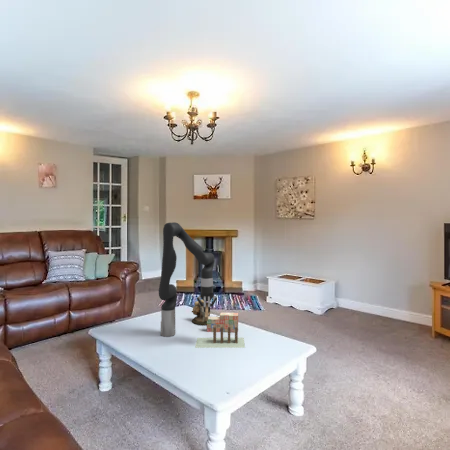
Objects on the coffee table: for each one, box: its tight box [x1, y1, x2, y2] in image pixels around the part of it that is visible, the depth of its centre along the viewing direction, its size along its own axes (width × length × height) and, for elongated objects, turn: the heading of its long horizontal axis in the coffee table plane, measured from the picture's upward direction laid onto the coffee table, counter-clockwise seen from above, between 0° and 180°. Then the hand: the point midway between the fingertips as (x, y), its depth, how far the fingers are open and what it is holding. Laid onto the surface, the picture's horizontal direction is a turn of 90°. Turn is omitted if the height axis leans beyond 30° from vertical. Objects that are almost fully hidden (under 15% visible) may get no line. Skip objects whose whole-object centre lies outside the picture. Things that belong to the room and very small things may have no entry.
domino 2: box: [212, 325, 217, 343], centre depth 204 cm, size 2×5×10 cm, turn 0°
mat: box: [194, 337, 246, 349], centre depth 203 cm, size 30×16×1 cm, turn 90°
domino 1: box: [205, 301, 208, 321], centre depth 202 cm, size 2×5×10 cm
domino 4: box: [227, 325, 231, 343], centre depth 203 cm, size 2×5×10 cm, turn 0°
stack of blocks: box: [206, 312, 239, 334], centre depth 223 cm, size 21×6×12 cm, turn 84°
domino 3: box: [220, 325, 224, 343], centre depth 203 cm, size 2×5×10 cm, turn 0°
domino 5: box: [234, 325, 239, 343], centre depth 203 cm, size 2×5×10 cm, turn 0°
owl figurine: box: [191, 299, 211, 327], centre depth 243 cm, size 18×12×17 cm, turn 51°
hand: (207, 312), depth 203 cm, fingers closed on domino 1, 1 cm apart
